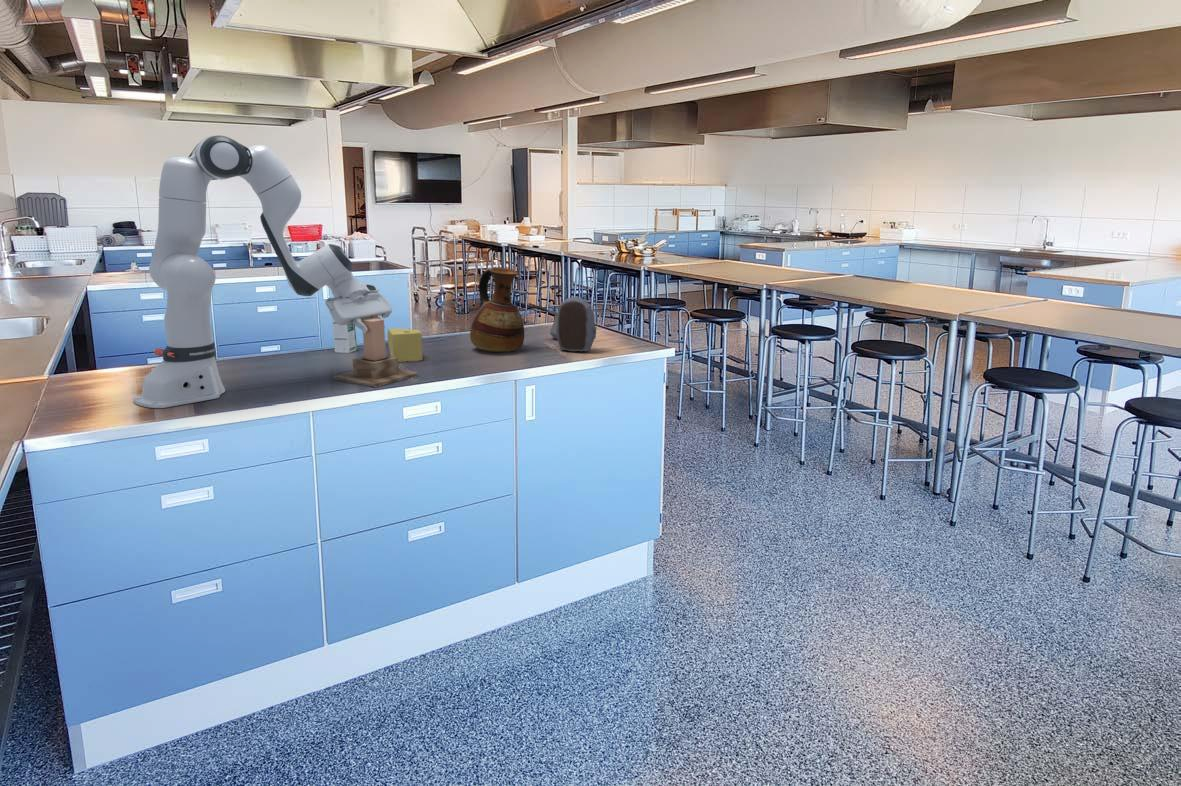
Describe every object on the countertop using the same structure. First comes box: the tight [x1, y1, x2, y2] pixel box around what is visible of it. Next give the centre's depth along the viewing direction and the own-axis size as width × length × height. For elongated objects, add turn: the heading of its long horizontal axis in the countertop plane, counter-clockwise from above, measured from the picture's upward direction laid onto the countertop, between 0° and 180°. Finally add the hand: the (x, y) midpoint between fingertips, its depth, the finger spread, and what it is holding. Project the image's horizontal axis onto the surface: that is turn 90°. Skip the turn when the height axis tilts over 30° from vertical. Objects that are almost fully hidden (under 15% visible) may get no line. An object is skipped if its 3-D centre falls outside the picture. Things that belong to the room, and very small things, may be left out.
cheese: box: [387, 327, 423, 363], centre depth 253 cm, size 10×11×10 cm
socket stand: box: [332, 355, 419, 388], centre depth 228 cm, size 18×18×6 cm
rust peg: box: [362, 318, 387, 361], centre depth 225 cm, size 4×4×12 cm
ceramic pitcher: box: [469, 267, 525, 353], centre depth 267 cm, size 20×20×30 cm
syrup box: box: [331, 316, 358, 354], centre depth 262 cm, size 6×6×14 cm
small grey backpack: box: [556, 296, 597, 353], centre depth 269 cm, size 15×8×20 cm, turn 72°
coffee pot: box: [526, 302, 560, 340], centre depth 289 cm, size 21×12×15 cm, turn 115°
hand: (375, 330), depth 224 cm, fingers closed on rust peg, 4 cm apart
